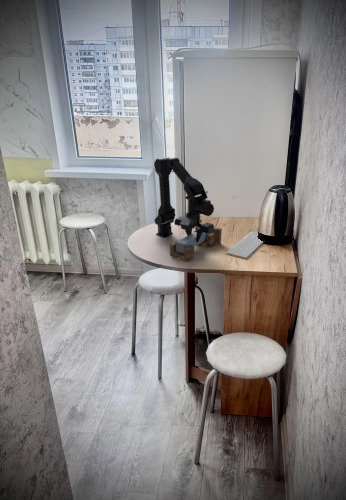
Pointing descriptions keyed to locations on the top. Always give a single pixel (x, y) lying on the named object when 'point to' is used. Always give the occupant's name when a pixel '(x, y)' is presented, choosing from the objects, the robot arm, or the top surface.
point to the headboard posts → (209, 242)
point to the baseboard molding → (245, 246)
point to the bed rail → (189, 241)
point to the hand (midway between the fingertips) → (193, 241)
